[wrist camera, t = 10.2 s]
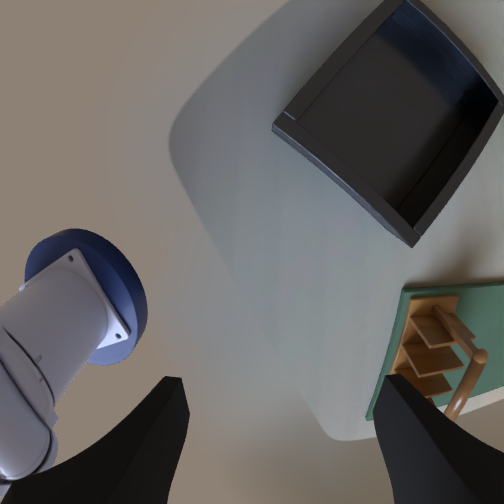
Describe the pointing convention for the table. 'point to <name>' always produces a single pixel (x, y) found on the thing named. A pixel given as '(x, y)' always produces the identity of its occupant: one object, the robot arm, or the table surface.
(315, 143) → the open box
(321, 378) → the table surface
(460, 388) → the dish rack
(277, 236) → the table surface
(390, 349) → the drying mat
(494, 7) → the table surface
